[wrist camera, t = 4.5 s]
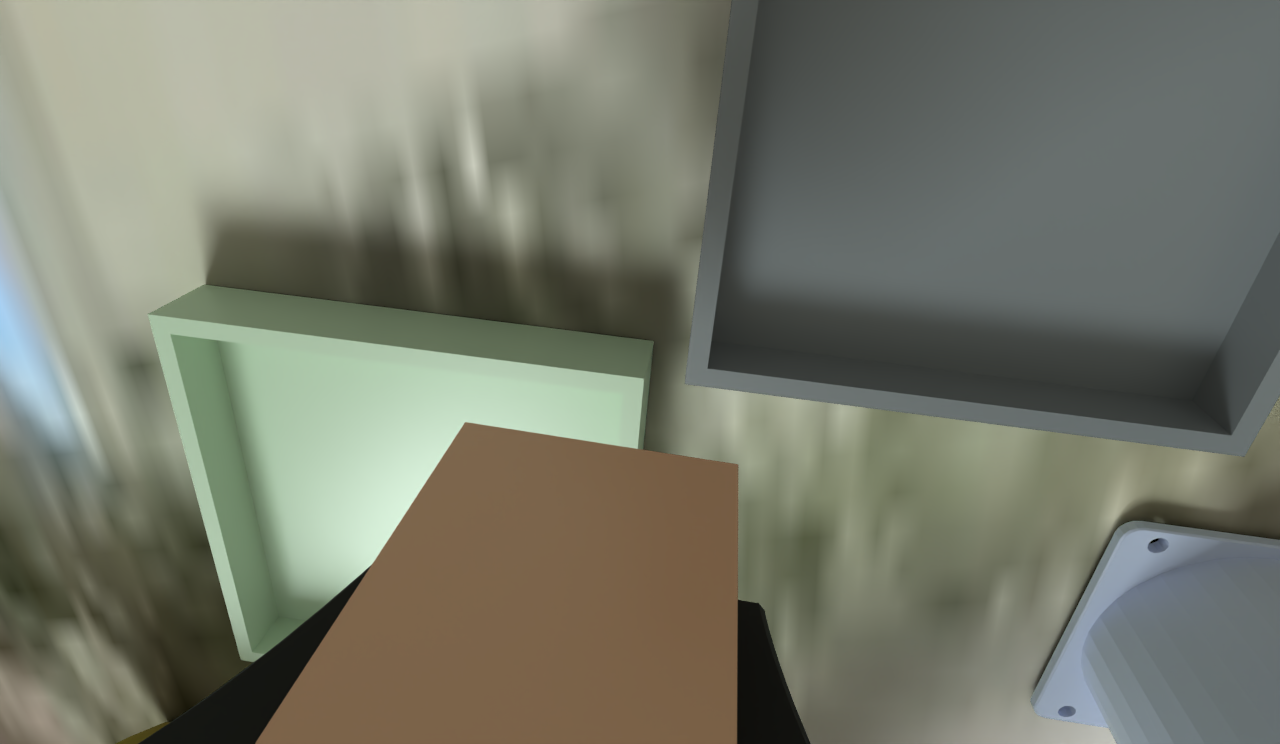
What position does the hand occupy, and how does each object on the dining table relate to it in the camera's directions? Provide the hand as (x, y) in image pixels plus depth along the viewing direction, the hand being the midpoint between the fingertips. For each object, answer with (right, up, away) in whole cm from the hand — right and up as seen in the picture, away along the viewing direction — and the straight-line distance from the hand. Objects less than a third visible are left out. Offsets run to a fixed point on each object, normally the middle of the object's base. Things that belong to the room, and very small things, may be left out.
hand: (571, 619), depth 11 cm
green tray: (-5, 0, +12) cm, 13 cm away
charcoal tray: (+9, +10, +4) cm, 14 cm away
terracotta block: (0, +1, +1) cm, 2 cm away
